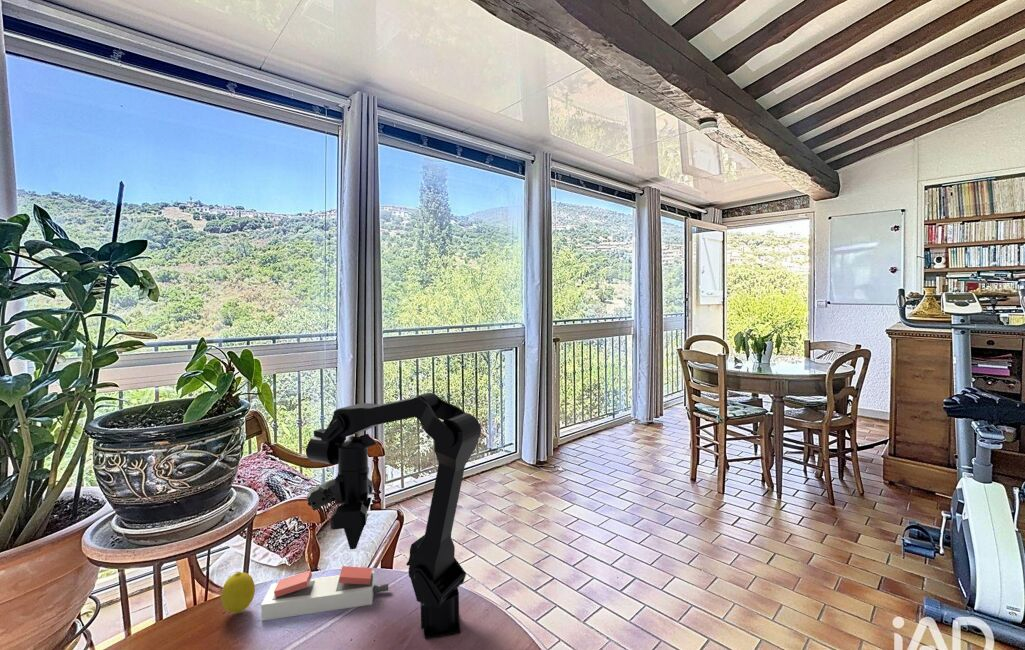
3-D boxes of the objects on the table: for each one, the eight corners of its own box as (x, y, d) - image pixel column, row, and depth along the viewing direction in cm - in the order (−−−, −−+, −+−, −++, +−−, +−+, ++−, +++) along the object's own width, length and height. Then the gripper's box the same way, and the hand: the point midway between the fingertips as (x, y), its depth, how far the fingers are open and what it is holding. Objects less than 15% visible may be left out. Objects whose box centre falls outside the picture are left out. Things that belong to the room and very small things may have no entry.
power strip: (389, 582, 98) (388, 568, 98) (387, 602, 91) (387, 586, 91) (272, 598, 93) (271, 583, 93) (261, 620, 86) (261, 604, 86)
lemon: (244, 622, 85) (243, 580, 85) (215, 622, 85) (214, 580, 85) (261, 604, 91) (260, 564, 91) (233, 604, 91) (232, 564, 91)
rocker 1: (312, 575, 93) (310, 570, 93) (307, 586, 89) (306, 581, 89) (281, 585, 92) (279, 580, 91) (275, 597, 88) (273, 591, 88)
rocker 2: (371, 573, 95) (372, 568, 95) (369, 584, 92) (370, 578, 92) (341, 571, 94) (342, 566, 94) (338, 582, 90) (339, 576, 90)
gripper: (319, 456, 100) (320, 527, 100) (299, 487, 82) (301, 573, 82) (372, 452, 102) (373, 521, 102) (364, 481, 84) (366, 565, 84)
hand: (354, 543), depth 93 cm, fingers open, 4 cm apart
